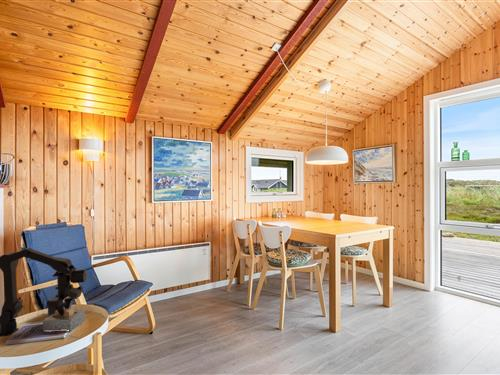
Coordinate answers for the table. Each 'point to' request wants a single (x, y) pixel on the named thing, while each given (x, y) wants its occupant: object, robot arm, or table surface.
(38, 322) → the table surface
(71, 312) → the tan rectangular block
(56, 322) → the grey slotted block
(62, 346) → the table surface
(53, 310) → the small box
